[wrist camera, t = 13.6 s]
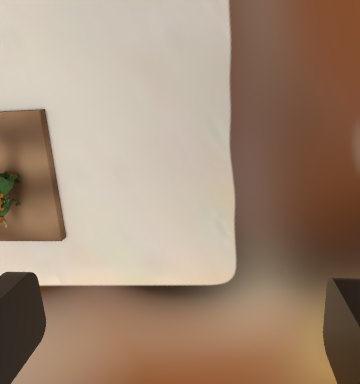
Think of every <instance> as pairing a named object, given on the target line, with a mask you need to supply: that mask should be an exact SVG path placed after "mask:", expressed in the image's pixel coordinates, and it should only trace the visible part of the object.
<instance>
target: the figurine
mask: <svg viewBox="0 0 360 384" xmlns="http://www.w3.org/2000/svg"><path fill="white" fill-rule="evenodd" d="M6 173H7V171H4V173H0V224H1V223H2V222H3V223H4V224H5V227H7V222H6V220H5V219H4V215H6V214H7V212H8V211H9V210H10V208H11V204H12V203H16V206H18V204H19V205H20V206H21V204H20V203H19V201H18V200H16V199H11V200H10V198H9V196H8V193H9V191H10V190H11V189H12V187H13V184H14V182H15V183H16V182H17V183H18V184H19V182H20V183H22V181H21V179H20V178H19V177H18V176H17V175H18V173H16V175H12V174H10V176H9V178H7V175H6ZM14 179H15V181H14Z"/></svg>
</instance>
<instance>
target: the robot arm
mask: <svg viewBox="0 0 360 384" xmlns="http://www.w3.org/2000/svg"><path fill="white" fill-rule="evenodd" d="M45 327H46V317H45V312H44V307H43V302H42V297H41V292H40V287H39V282H38V278H37V276H36V275H35V274H34V273H32V272H5V273H3V274H2V275H1V276H0V384H11V383H12V381H13V380H14V378H15V377H16V376H17V374H18V373H19V371H20V370H21V368H22V367H23V365H24V364H25V363H26V361H27V360H28V359H29V357H30V356H31V354H32V353H33V352H34V350H35V349H36V347H37V346H38V344H39V343H40V342H41V340H42V338H43V335H44V332H45ZM323 338H324V346H325V350H326V354H327V357H328V360H329V362H330V365H331V368H332V370H333V373H334V376H335V378H336V381H337V384H360V279H350V278H330V279H329V280H328V283H327V289H326V302H325V313H324V326H323Z"/></svg>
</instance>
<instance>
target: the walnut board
mask: <svg viewBox="0 0 360 384" xmlns="http://www.w3.org/2000/svg"><path fill="white" fill-rule="evenodd" d="M4 171H7V173H6V175H7V178H9V176H10V174H12V175H16V173H18V175H17V176H18V177H19V178H20V179H21V181H22V183H20V182H19V184H18V183H17V182H16V183H15V182H14V184H13V187H12V189H11V190H10V191H9V193H8V196H9V198H10V200H11V199H16V200H18V201H19V203H20V204H21V206H20V205H19V204H18V206H16V203H12V204H11V208H10V210H9V211H8V212H7V214H6V215H4V219H5V220H6V222H7V227H5V224H4V223H3V222H2V223H1V224H0V241H62V240H63V239H64V238H65V237H66V235H65V229H64V223H63V217H62V211H61V205H60V199H59V193H58V187H57V181H56V175H55V169H54V163H53V157H52V151H51V145H50V139H49V133H48V127H47V121H46V115H45V109H43V110H24V111H4V112H0V173H4ZM14 181H15V179H14Z"/></svg>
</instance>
